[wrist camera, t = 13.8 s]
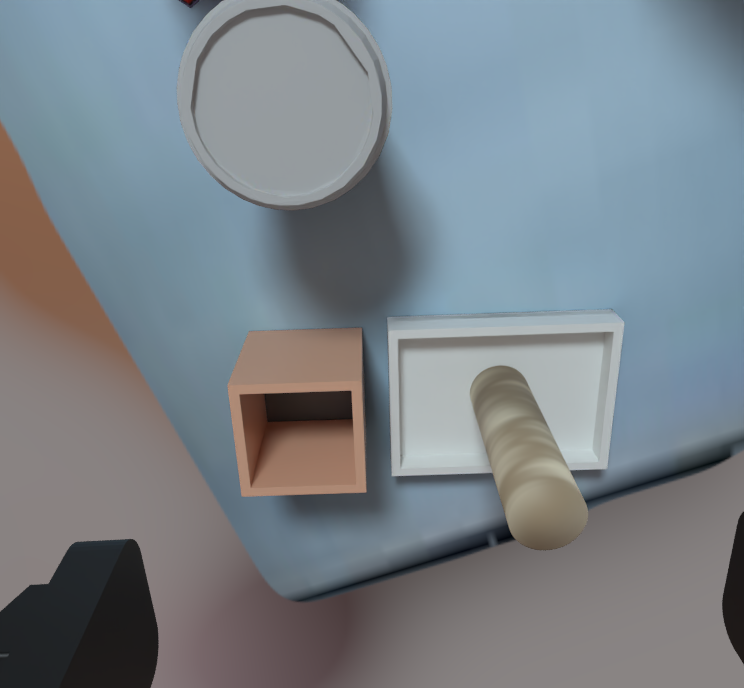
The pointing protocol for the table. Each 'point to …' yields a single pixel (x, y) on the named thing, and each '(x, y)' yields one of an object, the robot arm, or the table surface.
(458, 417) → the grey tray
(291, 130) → the disposable coffee cup
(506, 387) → the maple peg
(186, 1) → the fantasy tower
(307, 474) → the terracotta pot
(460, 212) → the table surface
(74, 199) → the table surface
